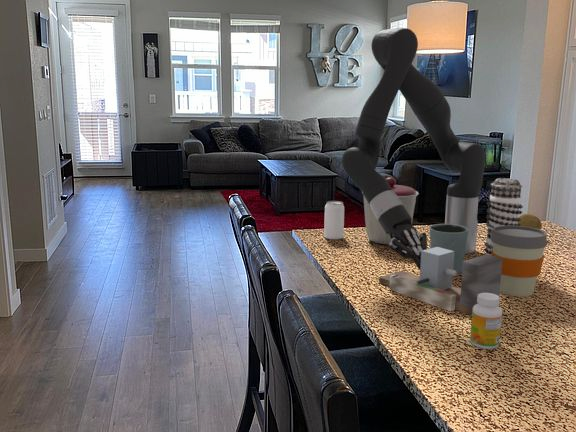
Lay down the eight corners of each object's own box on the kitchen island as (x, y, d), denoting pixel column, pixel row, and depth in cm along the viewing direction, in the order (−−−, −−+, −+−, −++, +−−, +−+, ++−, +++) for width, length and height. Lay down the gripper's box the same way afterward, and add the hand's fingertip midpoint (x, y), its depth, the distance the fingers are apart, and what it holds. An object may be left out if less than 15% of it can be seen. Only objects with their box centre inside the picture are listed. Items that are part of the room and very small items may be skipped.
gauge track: (374, 284, 143) (375, 240, 140) (402, 276, 149) (404, 233, 147) (470, 318, 121) (474, 267, 119) (498, 307, 128) (502, 258, 125)
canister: (375, 231, 197) (377, 172, 193) (424, 239, 187) (428, 176, 182) (349, 242, 183) (351, 178, 178) (401, 251, 172) (404, 183, 168)
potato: (512, 234, 195) (514, 211, 193) (535, 235, 194) (537, 212, 192) (517, 239, 188) (519, 216, 187) (541, 240, 187) (543, 216, 186)
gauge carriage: (409, 290, 133) (411, 253, 131) (434, 281, 139) (437, 246, 137) (437, 299, 127) (440, 261, 125) (462, 290, 133) (465, 254, 131)
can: (342, 240, 185) (343, 204, 182) (322, 239, 186) (323, 203, 184) (344, 235, 191) (345, 201, 189) (325, 234, 192) (326, 200, 190)
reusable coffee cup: (536, 302, 131) (543, 240, 127) (481, 292, 137) (486, 232, 134) (545, 287, 141) (551, 229, 138) (493, 278, 148) (498, 223, 144)
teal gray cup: (465, 267, 157) (469, 225, 155) (464, 277, 148) (468, 233, 146) (428, 263, 161) (431, 222, 158) (425, 273, 151) (427, 230, 149)
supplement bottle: (465, 338, 111) (469, 291, 109) (491, 337, 112) (495, 290, 110) (476, 350, 106) (480, 301, 104) (504, 349, 107) (508, 300, 105)
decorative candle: (475, 268, 156) (483, 179, 151) (489, 261, 162) (497, 175, 157) (508, 276, 150) (517, 183, 144) (521, 268, 156) (530, 179, 151)
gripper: (380, 206, 137) (417, 267, 130) (415, 200, 145) (452, 257, 138) (364, 224, 142) (399, 282, 136) (398, 217, 150) (433, 272, 144)
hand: (426, 269), depth 137 cm, fingers closed
